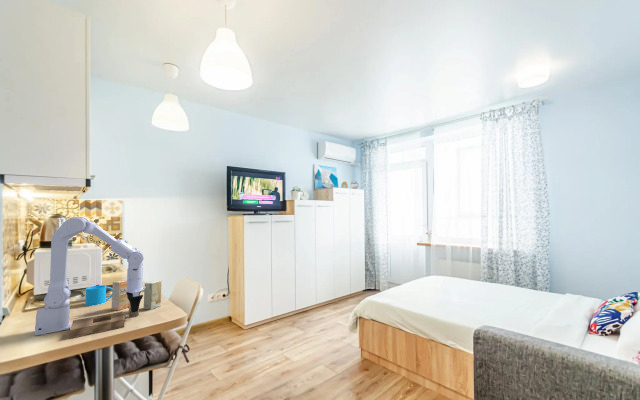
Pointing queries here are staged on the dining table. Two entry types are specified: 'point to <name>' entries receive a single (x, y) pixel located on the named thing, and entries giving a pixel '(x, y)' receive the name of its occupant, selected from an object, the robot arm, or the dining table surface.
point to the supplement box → (119, 295)
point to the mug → (96, 295)
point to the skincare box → (152, 295)
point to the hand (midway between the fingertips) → (134, 309)
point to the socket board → (97, 324)
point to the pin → (133, 312)
